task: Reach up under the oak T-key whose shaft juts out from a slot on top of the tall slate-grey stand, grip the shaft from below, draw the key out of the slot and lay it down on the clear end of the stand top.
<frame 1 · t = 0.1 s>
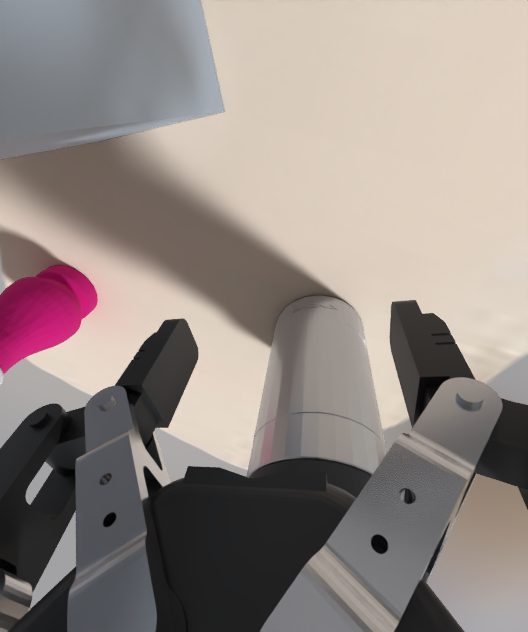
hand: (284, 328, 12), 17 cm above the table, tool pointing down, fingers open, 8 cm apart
pepper mill: (72, 288, 35), on the table
stand: (119, 5, 20), on the table
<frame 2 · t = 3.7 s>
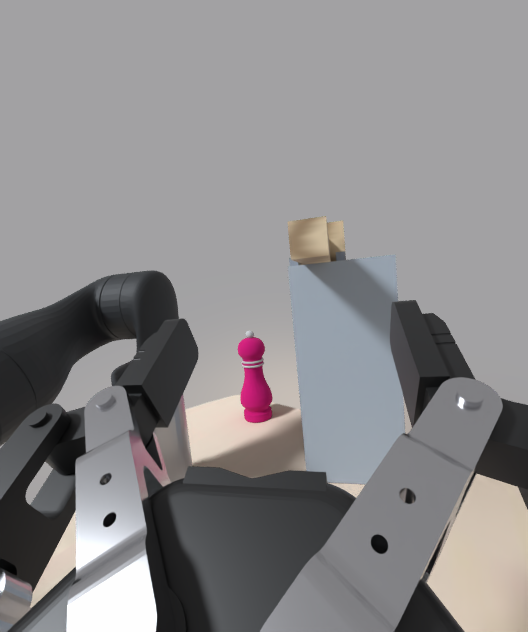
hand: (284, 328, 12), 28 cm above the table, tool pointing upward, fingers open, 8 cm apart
t key: (318, 264, 45), point 32 cm above the table, touching stand
pepper mill: (258, 417, 71), on the table
stand: (353, 461, 50), on the table
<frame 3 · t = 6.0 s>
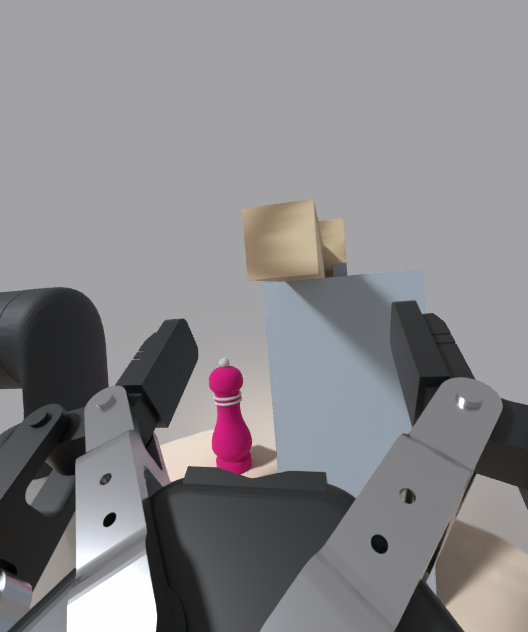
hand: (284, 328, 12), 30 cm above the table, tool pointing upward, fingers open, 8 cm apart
t key: (307, 279, 31), point 32 cm above the table, touching stand
pepper mill: (234, 466, 56), on the table
stand: (355, 554, 36), on the table
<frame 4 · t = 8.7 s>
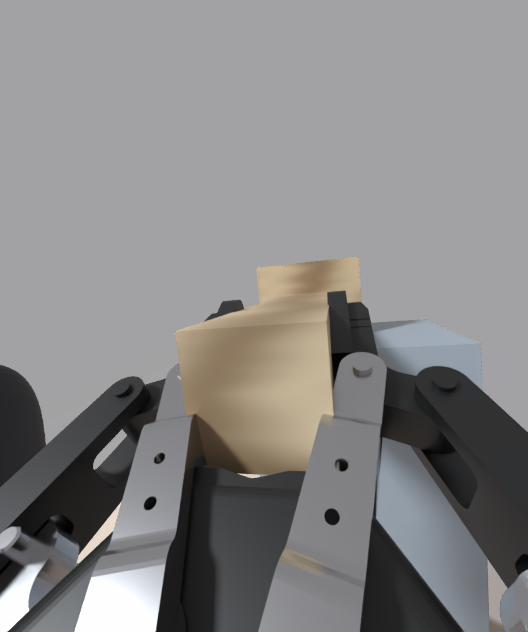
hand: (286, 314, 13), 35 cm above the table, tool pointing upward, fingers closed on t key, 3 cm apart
t key: (309, 342, 23), point 32 cm above the table, touching gripper, stand
when the fingers open (36 cm above the table, at t = 14.6 s): t key stays where it is, resting on stand.
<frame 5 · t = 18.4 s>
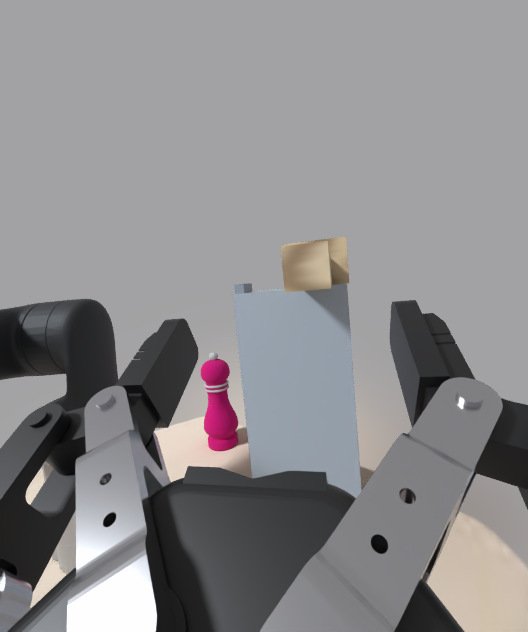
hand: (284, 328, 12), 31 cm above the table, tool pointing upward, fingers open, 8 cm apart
t key: (317, 286, 39), point 32 cm above the table, touching stand
pepper mill: (223, 444, 66), on the table
stand: (311, 503, 46), on the table
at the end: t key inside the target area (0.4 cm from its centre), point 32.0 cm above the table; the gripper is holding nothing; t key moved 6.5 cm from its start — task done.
